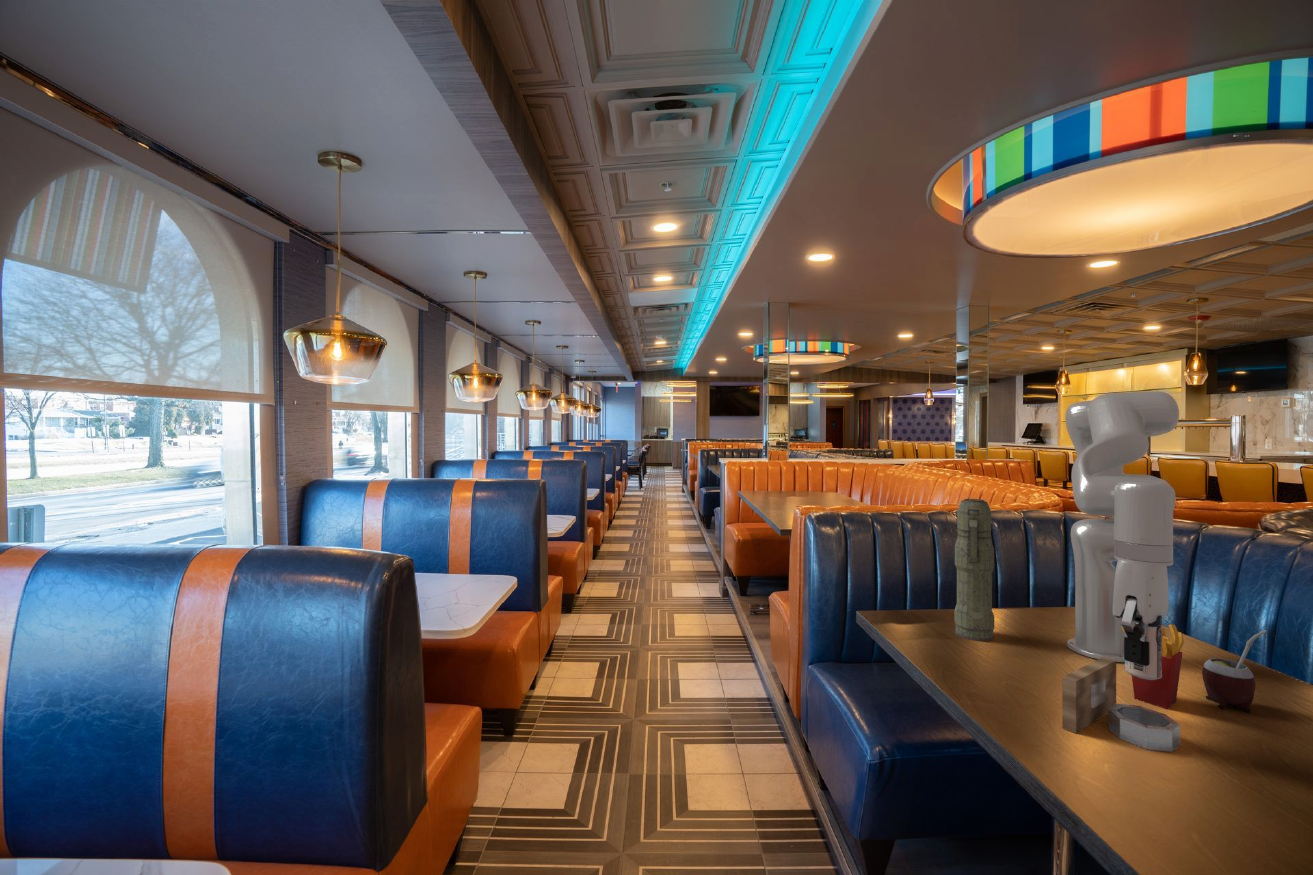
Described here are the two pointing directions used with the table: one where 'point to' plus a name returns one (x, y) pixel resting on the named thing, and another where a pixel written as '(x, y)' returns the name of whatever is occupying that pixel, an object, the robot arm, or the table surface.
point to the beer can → (1155, 666)
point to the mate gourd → (1230, 681)
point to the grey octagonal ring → (1144, 727)
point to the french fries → (1163, 674)
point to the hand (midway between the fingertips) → (1143, 658)
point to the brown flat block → (1088, 694)
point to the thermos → (974, 571)
